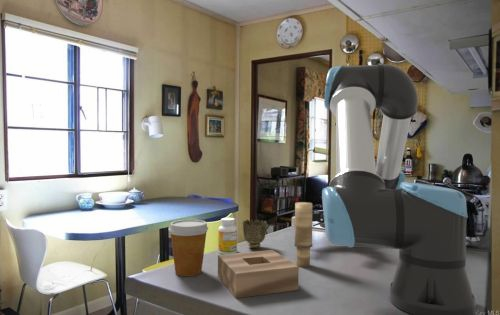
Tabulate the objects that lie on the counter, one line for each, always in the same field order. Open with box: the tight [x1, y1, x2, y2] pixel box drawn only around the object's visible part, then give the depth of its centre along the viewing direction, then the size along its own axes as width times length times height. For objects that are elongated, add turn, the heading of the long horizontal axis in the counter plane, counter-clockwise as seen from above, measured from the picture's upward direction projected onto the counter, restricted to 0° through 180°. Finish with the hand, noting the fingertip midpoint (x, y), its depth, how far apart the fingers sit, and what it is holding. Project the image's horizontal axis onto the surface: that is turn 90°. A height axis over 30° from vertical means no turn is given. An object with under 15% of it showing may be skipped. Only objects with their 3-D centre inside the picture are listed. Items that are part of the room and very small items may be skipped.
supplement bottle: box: [217, 217, 238, 255], centre depth 110 cm, size 5×5×10 cm
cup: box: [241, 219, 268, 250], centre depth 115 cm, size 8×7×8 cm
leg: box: [293, 201, 313, 268], centre depth 98 cm, size 5×5×16 cm
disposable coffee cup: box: [168, 219, 209, 277], centre depth 92 cm, size 10×10×12 cm
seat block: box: [217, 249, 300, 299], centre depth 85 cm, size 14×14×5 cm
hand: (315, 224), depth 106 cm, fingers open, 13 cm apart
